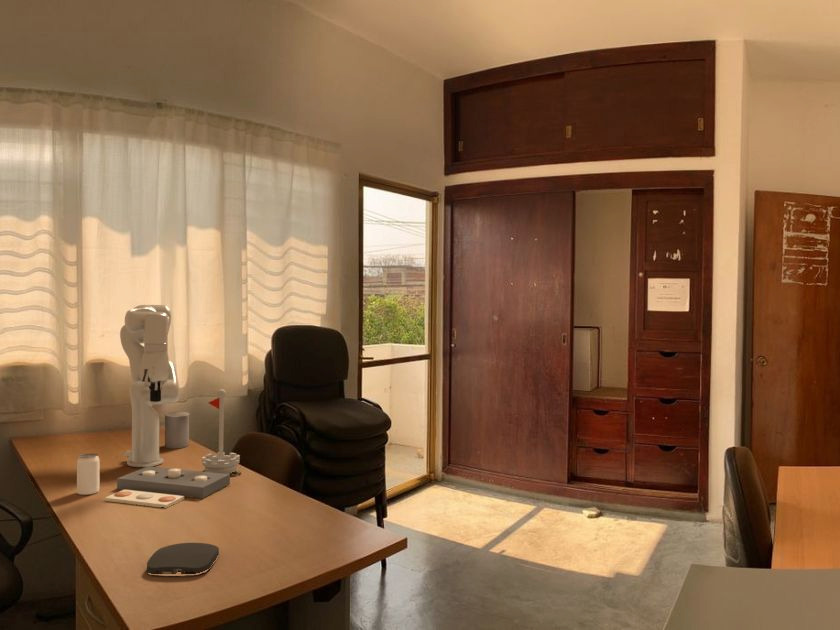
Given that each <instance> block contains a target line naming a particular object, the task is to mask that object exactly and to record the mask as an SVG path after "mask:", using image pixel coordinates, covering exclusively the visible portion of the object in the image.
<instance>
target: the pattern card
mask: <svg viewBox="0 0 840 630" xmlns="http://www.w3.org/2000/svg"><path fill="white" fill-rule="evenodd" d="M184 500H185V496H179V495H170V494H161V493H152V492H143V491H134V490H123V489H121V490H120V491H118V492H114V493H113V494H110V495H107V496H105V497H104V501H105V502H109V503H110V502H113V503H121V504H127V505H136V504H137V505H138V506H144V505H145V506H146V507H153V508H161V507H164V508H163V509H168V508H170V507H171V505H172V506H174V505H175V504H177V503H180V502H182V501H184ZM173 504H174V505H173ZM145 506H144V507H145ZM169 506H170V507H169ZM167 507H168V508H167Z"/></svg>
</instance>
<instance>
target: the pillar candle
mask: <svg viewBox="0 0 840 630" xmlns="http://www.w3.org/2000/svg"><path fill="white" fill-rule="evenodd" d="M189 445H190V413H189V412H188V411H172V412H167V413H165V414H164V448H166V449H170V450H171V449H182V448H187V447H189Z"/></svg>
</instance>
